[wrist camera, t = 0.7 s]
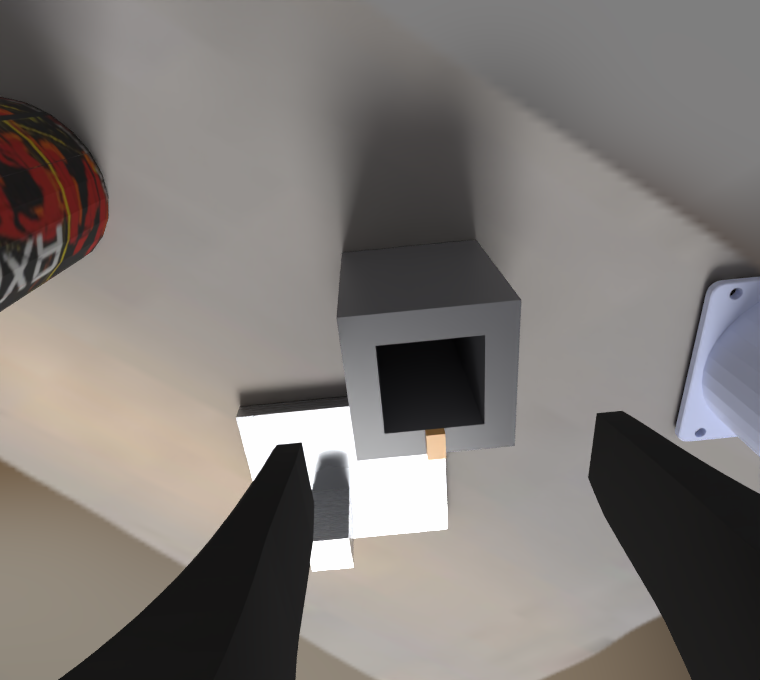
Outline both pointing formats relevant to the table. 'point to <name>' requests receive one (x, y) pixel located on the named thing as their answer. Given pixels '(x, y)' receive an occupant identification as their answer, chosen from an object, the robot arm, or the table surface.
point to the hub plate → (349, 466)
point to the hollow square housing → (428, 350)
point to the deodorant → (44, 199)
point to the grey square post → (332, 530)
